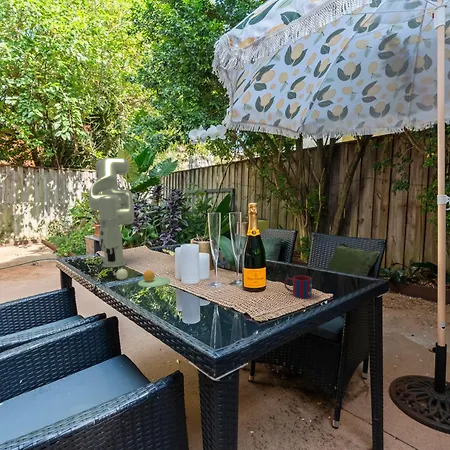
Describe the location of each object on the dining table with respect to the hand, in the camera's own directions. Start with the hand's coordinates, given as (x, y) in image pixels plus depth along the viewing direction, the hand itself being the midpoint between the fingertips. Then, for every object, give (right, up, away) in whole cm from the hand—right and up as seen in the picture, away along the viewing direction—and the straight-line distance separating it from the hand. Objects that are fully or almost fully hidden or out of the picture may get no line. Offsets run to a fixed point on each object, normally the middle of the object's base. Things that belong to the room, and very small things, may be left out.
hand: (111, 261), depth 145 cm
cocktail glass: (+66, -6, +7) cm, 66 cm away
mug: (+81, -9, -29) cm, 86 cm away
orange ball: (+19, -6, -8) cm, 22 cm away
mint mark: (+22, -8, -9) cm, 25 cm away
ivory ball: (+6, -5, -4) cm, 9 cm away
